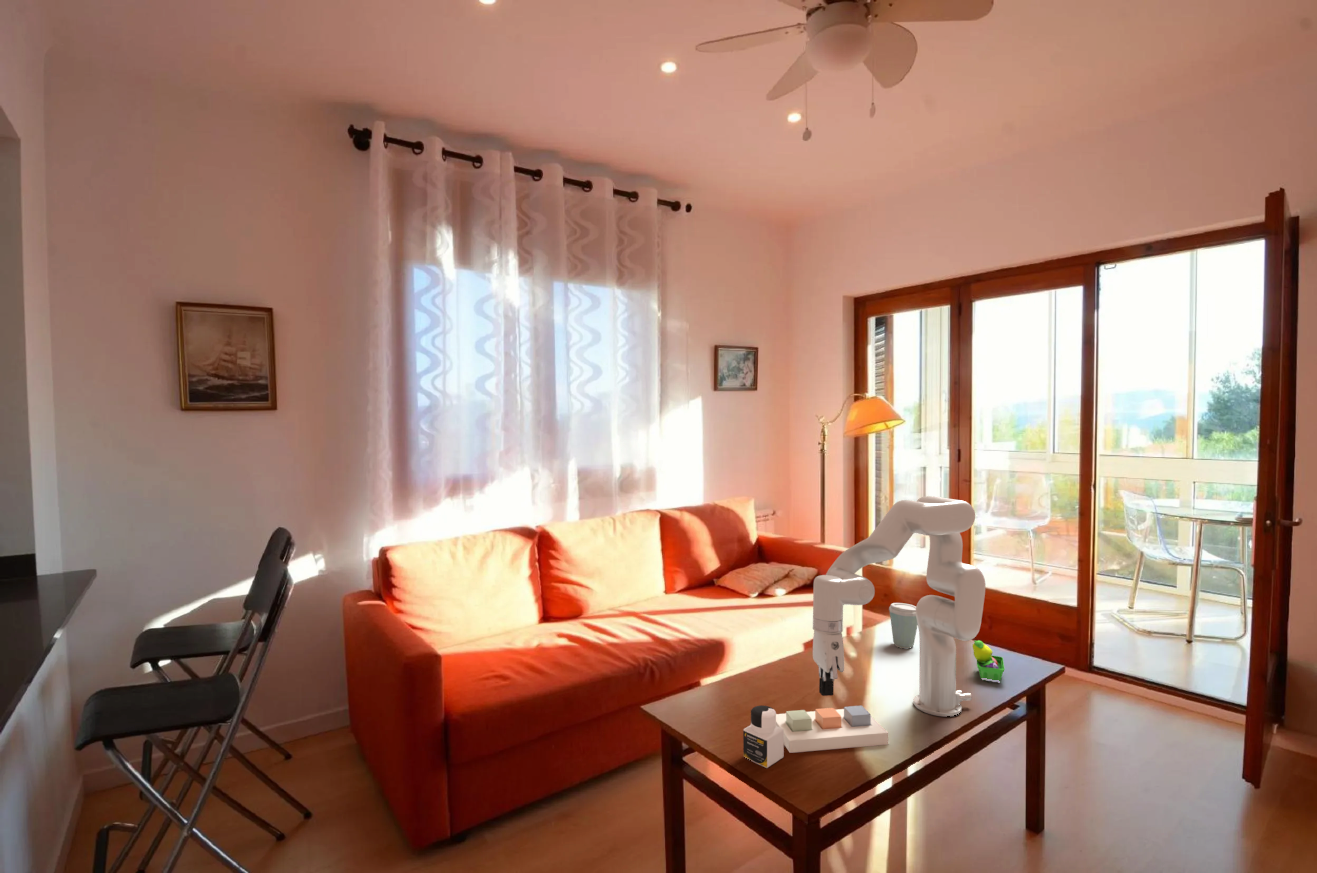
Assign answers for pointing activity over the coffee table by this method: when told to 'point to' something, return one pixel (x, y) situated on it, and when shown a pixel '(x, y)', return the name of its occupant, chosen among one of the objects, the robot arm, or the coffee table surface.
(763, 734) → the medicine bottle
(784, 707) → the coffee table surface
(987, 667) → the fruit basket
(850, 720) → the key slate
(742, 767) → the coffee table surface
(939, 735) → the coffee table surface
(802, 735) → the key board
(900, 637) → the disposable coffee cup
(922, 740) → the coffee table surface
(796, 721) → the key sage
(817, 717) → the key terracotta
